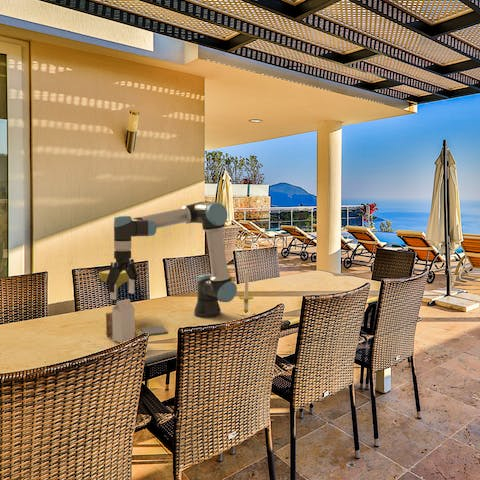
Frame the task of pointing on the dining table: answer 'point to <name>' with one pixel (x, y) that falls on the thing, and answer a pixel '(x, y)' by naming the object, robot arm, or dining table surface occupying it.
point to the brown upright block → (109, 324)
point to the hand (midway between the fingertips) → (122, 296)
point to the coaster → (154, 330)
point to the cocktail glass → (121, 279)
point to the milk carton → (123, 321)
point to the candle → (246, 293)
